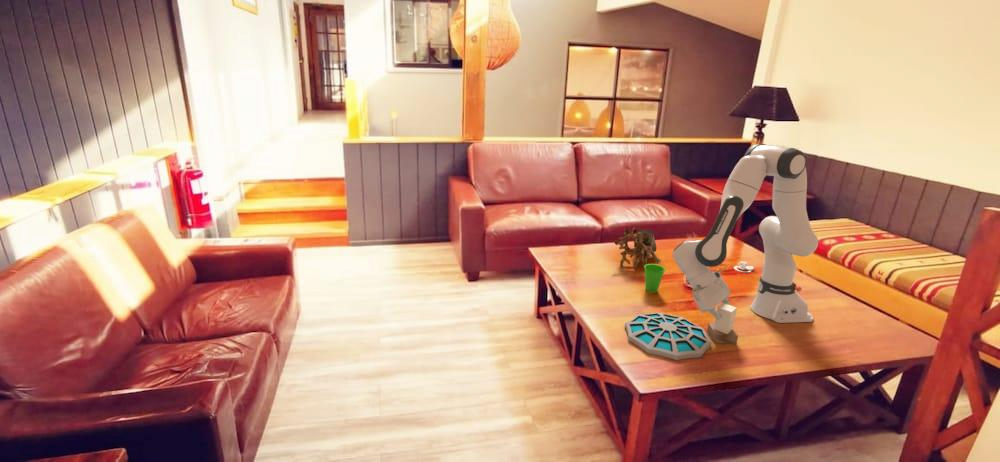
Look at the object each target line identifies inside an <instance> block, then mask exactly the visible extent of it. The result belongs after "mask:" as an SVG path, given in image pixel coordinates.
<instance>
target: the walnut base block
mask: <svg viewBox="0 0 1000 462" xmlns="http://www.w3.org/2000/svg"><path fill="white" fill-rule="evenodd" d="M714 323H715V322H712V323H711V322H708V324H707V330H706V331H707V335H709V337H710V340H712V343H716V344H718V343H719V344H730V345H731V344H732V345H737V342H738V338H739V335H738V333H737V332H736V330H735V329H734V328H733V329H732V330H731V331H730V332H729V333H728V334H725V333H723V332H720V331H718V330H715V329H714Z"/></svg>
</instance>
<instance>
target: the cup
mask: <svg viewBox="0 0 1000 462" xmlns="http://www.w3.org/2000/svg"><path fill="white" fill-rule="evenodd" d="M643 268H644V282H645V284H644V286H645V287H644V288H645V291H646V290H647V291H646V292H648V293H651V292H652V294H654V293H653V292H655V293H657V292H658V291H659V287H660V286H661V282H662V279H663V275H664V273H665V272H666V268H665V267H664V266H663V265H660V264H657V263H647V264H646V265H645V266H643Z"/></svg>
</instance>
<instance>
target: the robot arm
mask: <svg viewBox="0 0 1000 462" xmlns="http://www.w3.org/2000/svg"><path fill="white" fill-rule="evenodd" d="M806 167H807V158H806V155H805V154H804V152H803V151H802V150H799V149H797V148H794V147H788V146H784V145H779V144H776V145H774V144H765V143H764V144H763V143H760V144H759V143H757V144H752V146H750V147H749V148H748V149H747V150H746V152H745V153H744V155H743V157H741V158H740V159H739V161H738V162H737V163H736V164H735V166H734V168H733V170H732V171H731V173H730V174H729V177H728V178H727V181H726V183H725V185H724V188H723V190H722V194H721V198H720V199H721V201H720V207H719V208H720V209H719V212H718V214H717V216H716V218H715V221H714V223H713V225H712V227H711V229H710V231H709V233H708V234H707V235H706V237H704V238H703V239H699V240H684V241H682V242H680V243H679V244H678V245H677V246H676V247H675V248H674V249H673V251H672V258H673V260H674V261H675V264H676V265H677V267H678V268H679V270H680V271H681V273H683V274H684V275H685V278H686V280H687V282H688V284H690V285H689V286H690V287H691V288H692V293H691V294H692V299H693V300H694V302H695V304H696V306H697V308H698V309H699V311H700V312H702V313H703V314H705V313H709V314H710V315H712V316H713V317H714V318H716V320H720V319H721V318H722V316H721V314H720V313H718V312H717V308H716V307H717V306H718V305H719V304H720V303H721V304H722V303H725V304H728V305H731V303H730V299H729V298H728V297H729V296H730V295H731V290H730V288H729V287H728V285H727V282H726V281H725V280H724V279H723V278H722V275H721V272H719V271H712V270H710V268H713V267H717V266H720V265H722V264H723V263H724V261H725V260H726V257H727V252H728V251H727V244H728V241H729V238H730V236H731V233H732V231H733V229H734V227H735V226H736V222H737V221H738V219H739V218H740V217H741V215H742V214H743V213H744V212H745V211H746V210H747V209H749V208H750V206H751V205H752V203H753V202H755V201H754V200H755V198H756V197H757V196H758V193H759V191H760V190H761V187H762V184H763V181H764V180H765V177H767V176H769V177H771V176H772V177H773V181H772V182H773V184H772V203H771V207H772V210H773V212H774V213H775V215H769V216H766V217H764V219H763V220H761V222H760V224H759V226H758V232H759V234H760V236H761V238H762V241H763V242H762V243H763V248H764V263H763V267H762V273H761V276H760V278H759V281H758V287H757V293H756V295H755V297H754V300H753V302H752V303H751V304H750V307H749V308H750V309H751V311H752V312H753V313H755V314H756V315H758V316H760V317H762V318H766V319H769V320H771V321H774V322H776V323H781V324H782V323H786V324H787V323H788V324H789V323H812V322H813V320H814V317H813V315H812V314H811V312H809V307H808V303H807V301H806V300H805V299H804V298H803V296H801V295H800V294H798V292H799V293H800V292H802V287H801V286H800V285H797V284H796V283H795V282H794V278H795V274H796V269H797V263H796V261H795V259H794V256H797V257H801V258H802V257H808V256H811V255H812V254H813V253H814V252H815V251H816V250H817V248H818V245H819V239H818V236H817V235H816V233H815V232H814V231H813V229H812V226H811V223H810V219H809V216H808V211H807V192H808V191H807V189H808V181H807V180H808V175H807V168H806ZM793 255H794V256H793Z"/></svg>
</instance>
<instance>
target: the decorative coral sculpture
mask: <svg viewBox="0 0 1000 462" xmlns="http://www.w3.org/2000/svg"><path fill="white" fill-rule="evenodd" d="M637 231H638V230H637V228H636V227H633V228H632V231H630V230H628V229H627V227H625V228H624V231H623V234H624V237H618V239H616V240H615V241H614V244H615V245H616V246H618V245H619V247H618V249H619V250H623V251H621V252H619V254H620V255H621V256H622V258H621V260H620V261H619V264H620V265H621V266H622V265H624V262H626V263H627V264H628V265H630V264H631V261H630V260H629V259H628V258H627V255H629V258H633V257H634V258H635V259H634V261H633V263H632V264H633V268H634V269H636V267H637V265H638V263H639V262H640V261H642V263H641V266H642V267H644V266H645V265H646V264H648V262H647V261H648V259H651V257H652V259H654V260H655V261H656V264H657V265H660V263H661V262H662V260H661V259H659V258H658V256H657V254H656V252H657V244H656V238H655V235H654V231H652V230H651V229H639V231H638V232H637ZM631 238H632V239H633V243H634V244H633V245H634V246H633V247H632V248H630V247H629V245H628V242H629V240H630V239H631ZM618 240H621V241H618Z"/></svg>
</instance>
